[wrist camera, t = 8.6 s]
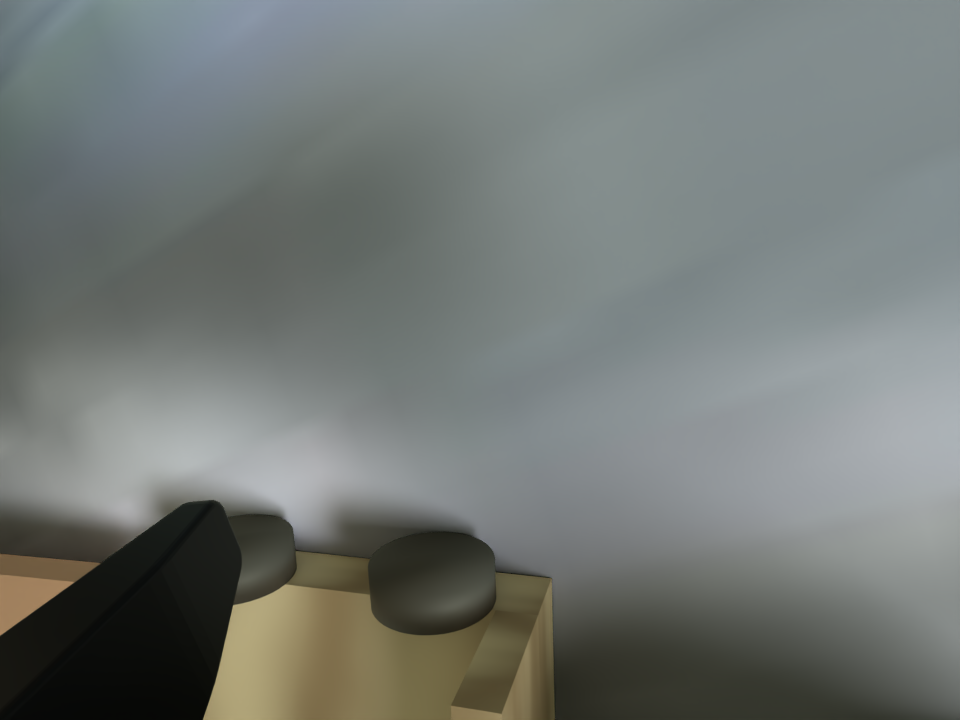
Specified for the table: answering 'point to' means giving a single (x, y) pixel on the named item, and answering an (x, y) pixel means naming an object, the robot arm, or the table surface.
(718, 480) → the table surface
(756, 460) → the table surface
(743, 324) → the table surface
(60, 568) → the tailgate
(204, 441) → the table surface
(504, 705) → the cart bed
